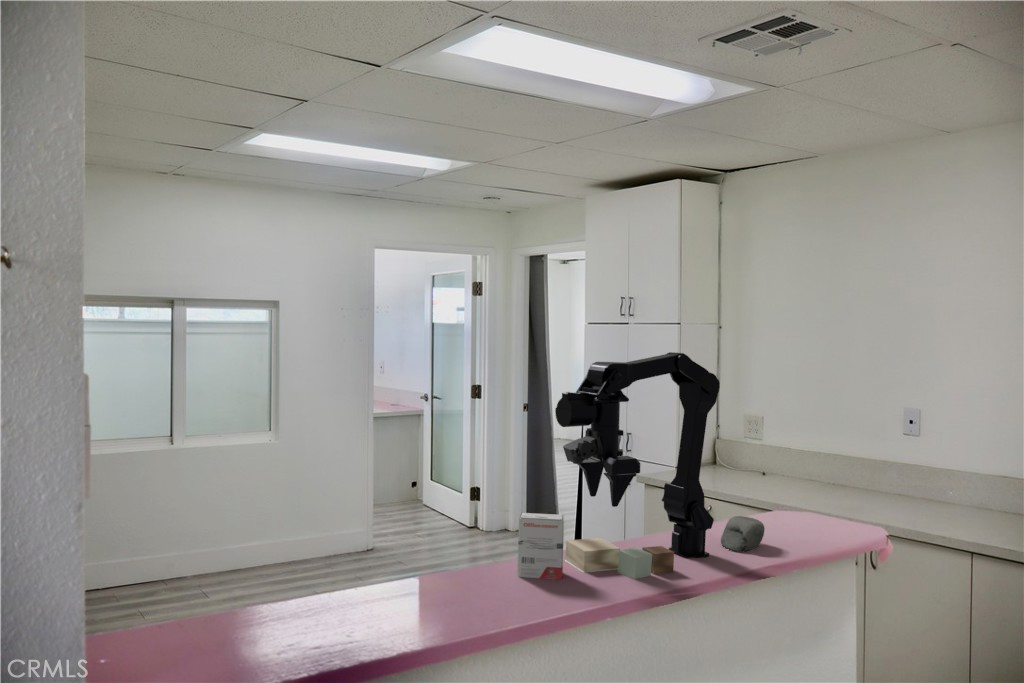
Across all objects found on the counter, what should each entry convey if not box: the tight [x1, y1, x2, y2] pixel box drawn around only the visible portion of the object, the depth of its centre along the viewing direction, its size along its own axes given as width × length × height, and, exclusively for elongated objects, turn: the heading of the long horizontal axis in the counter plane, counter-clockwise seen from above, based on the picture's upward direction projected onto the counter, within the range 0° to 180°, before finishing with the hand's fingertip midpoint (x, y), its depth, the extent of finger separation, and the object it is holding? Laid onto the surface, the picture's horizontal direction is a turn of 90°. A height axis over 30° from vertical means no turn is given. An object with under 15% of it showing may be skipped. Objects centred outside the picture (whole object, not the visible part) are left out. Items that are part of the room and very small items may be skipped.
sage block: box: [617, 546, 652, 580], centre depth 153 cm, size 4×4×4 cm
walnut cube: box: [641, 545, 675, 575], centre depth 156 cm, size 4×4×4 cm
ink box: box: [517, 512, 565, 581], centre depth 150 cm, size 9×5×12 cm, turn 84°
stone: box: [720, 515, 766, 553], centre depth 178 cm, size 9×9×10 cm
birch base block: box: [564, 537, 621, 573], centre depth 158 cm, size 8×8×4 cm
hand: (603, 501), depth 158 cm, fingers open, 9 cm apart
